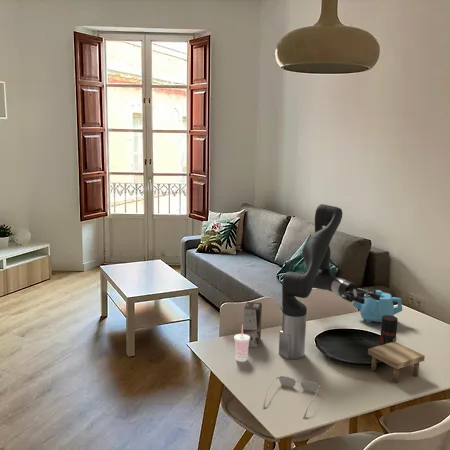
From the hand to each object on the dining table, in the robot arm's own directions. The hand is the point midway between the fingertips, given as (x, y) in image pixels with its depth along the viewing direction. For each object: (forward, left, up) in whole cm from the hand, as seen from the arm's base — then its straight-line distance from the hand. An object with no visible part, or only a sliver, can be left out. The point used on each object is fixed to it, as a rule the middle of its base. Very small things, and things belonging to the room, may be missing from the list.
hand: (371, 300), depth 217 cm
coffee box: (-42, +24, -19) cm, 52 cm away
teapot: (+22, +17, -19) cm, 34 cm away
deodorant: (0, -10, -19) cm, 22 cm away
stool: (-10, -23, -19) cm, 32 cm away
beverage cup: (-54, +13, -19) cm, 59 cm away
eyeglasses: (-56, -21, -20) cm, 63 cm away
